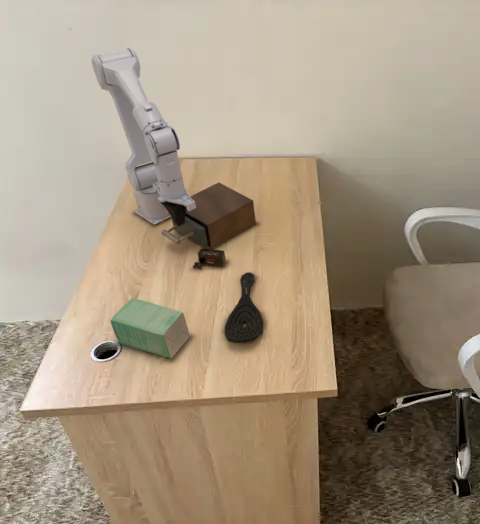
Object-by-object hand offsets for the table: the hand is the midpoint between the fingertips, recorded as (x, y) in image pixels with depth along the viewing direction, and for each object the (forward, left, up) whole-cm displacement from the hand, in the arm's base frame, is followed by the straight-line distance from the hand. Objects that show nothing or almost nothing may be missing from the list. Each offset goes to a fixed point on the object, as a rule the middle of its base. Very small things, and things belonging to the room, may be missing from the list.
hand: (180, 223), depth 146 cm
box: (+23, -25, -7) cm, 35 cm away
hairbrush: (+31, -6, -7) cm, 32 cm away
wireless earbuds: (+11, -1, -7) cm, 13 cm away
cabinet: (0, +11, -7) cm, 13 cm away
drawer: (0, +6, -6) cm, 8 cm away
